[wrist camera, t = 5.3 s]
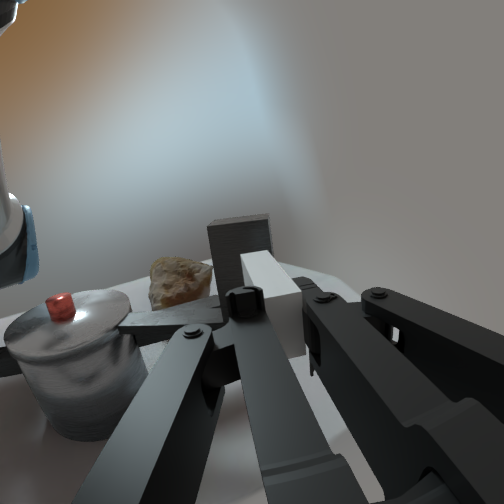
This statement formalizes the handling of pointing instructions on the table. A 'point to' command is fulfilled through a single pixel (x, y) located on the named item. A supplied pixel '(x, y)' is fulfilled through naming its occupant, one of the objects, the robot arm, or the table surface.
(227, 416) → the table surface
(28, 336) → the lid
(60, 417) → the pot
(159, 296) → the mineral
